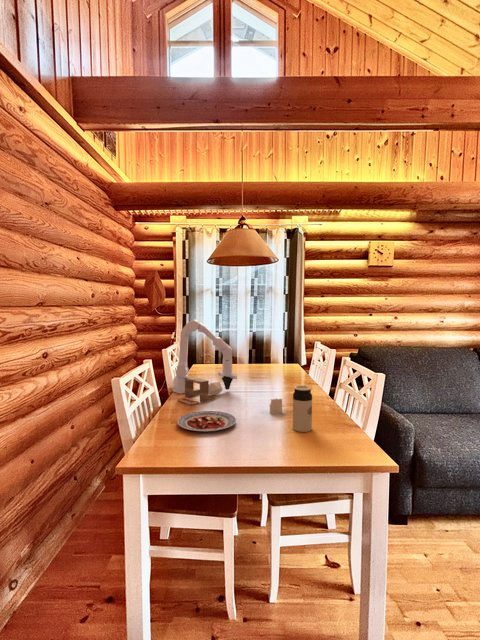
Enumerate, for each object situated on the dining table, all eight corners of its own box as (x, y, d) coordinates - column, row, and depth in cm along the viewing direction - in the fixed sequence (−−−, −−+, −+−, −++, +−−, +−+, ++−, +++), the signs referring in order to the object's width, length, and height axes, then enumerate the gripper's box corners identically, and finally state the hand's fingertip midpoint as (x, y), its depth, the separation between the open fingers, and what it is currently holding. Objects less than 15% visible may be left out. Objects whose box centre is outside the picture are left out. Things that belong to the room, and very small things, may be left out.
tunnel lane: (184, 397, 200) (184, 377, 199) (198, 394, 206) (198, 375, 206) (201, 402, 189) (201, 382, 188) (215, 399, 195) (214, 379, 195)
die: (224, 395, 207) (219, 380, 211) (222, 391, 199) (217, 376, 203) (211, 400, 206) (206, 385, 210) (209, 396, 198) (203, 381, 203)
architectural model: (268, 412, 174) (268, 397, 174) (282, 411, 175) (282, 396, 175) (270, 414, 171) (270, 399, 171) (284, 413, 172) (284, 398, 172)
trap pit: (178, 401, 192) (178, 398, 192) (185, 399, 196) (185, 397, 196) (191, 405, 184) (191, 403, 184) (199, 403, 187) (199, 401, 187)
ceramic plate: (189, 440, 139) (188, 432, 139) (170, 420, 162) (170, 414, 162) (246, 429, 151) (246, 422, 151) (221, 412, 174) (221, 406, 174)
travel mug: (288, 428, 151) (289, 386, 150) (301, 424, 156) (302, 384, 155) (302, 434, 145) (303, 390, 144) (315, 429, 150) (316, 387, 149)
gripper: (240, 367, 209) (240, 390, 210) (224, 364, 219) (224, 385, 220) (231, 368, 204) (232, 392, 205) (215, 365, 214) (215, 387, 215)
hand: (227, 389), depth 212 cm, fingers closed
